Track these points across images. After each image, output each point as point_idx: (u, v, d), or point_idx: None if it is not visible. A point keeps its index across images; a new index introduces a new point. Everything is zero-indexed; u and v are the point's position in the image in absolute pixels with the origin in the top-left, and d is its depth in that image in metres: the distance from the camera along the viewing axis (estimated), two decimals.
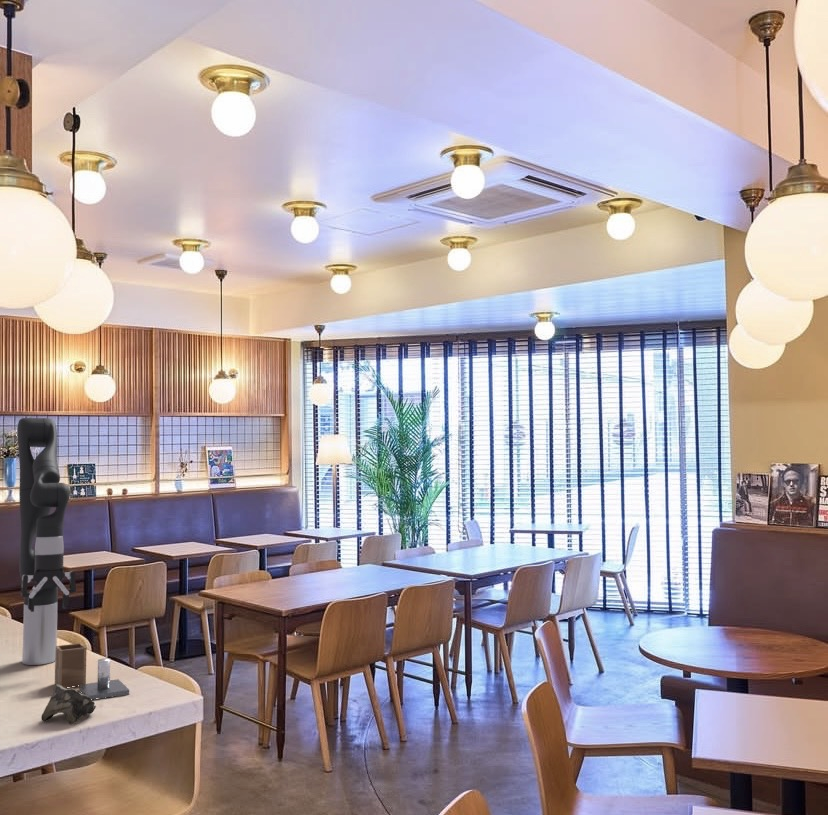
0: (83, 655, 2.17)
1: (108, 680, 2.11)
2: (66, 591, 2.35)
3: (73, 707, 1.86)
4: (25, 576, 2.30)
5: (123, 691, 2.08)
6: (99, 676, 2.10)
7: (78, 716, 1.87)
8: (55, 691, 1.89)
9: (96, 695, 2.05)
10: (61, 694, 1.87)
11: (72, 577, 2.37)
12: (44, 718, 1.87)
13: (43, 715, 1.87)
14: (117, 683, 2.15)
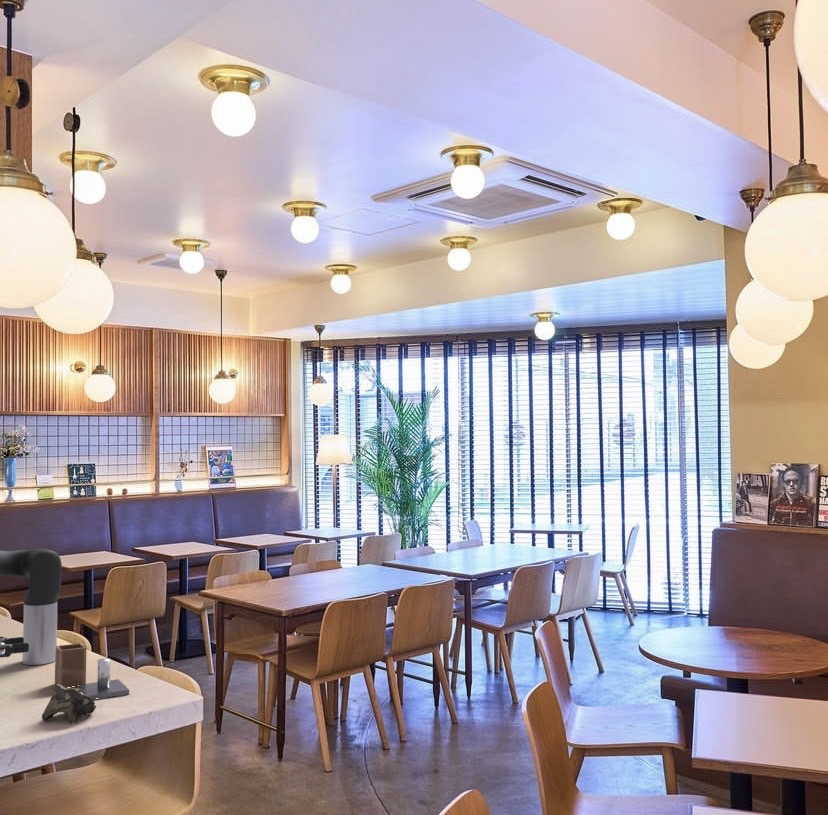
0: (83, 655, 2.17)
1: (108, 680, 2.11)
2: (3, 638, 2.14)
3: (73, 707, 1.87)
4: None
5: (123, 691, 2.08)
6: (99, 676, 2.10)
7: (78, 716, 1.87)
8: (55, 691, 1.89)
9: (96, 695, 2.05)
10: (62, 694, 1.88)
11: None
12: (44, 717, 1.87)
13: (43, 714, 1.87)
14: (117, 683, 2.15)
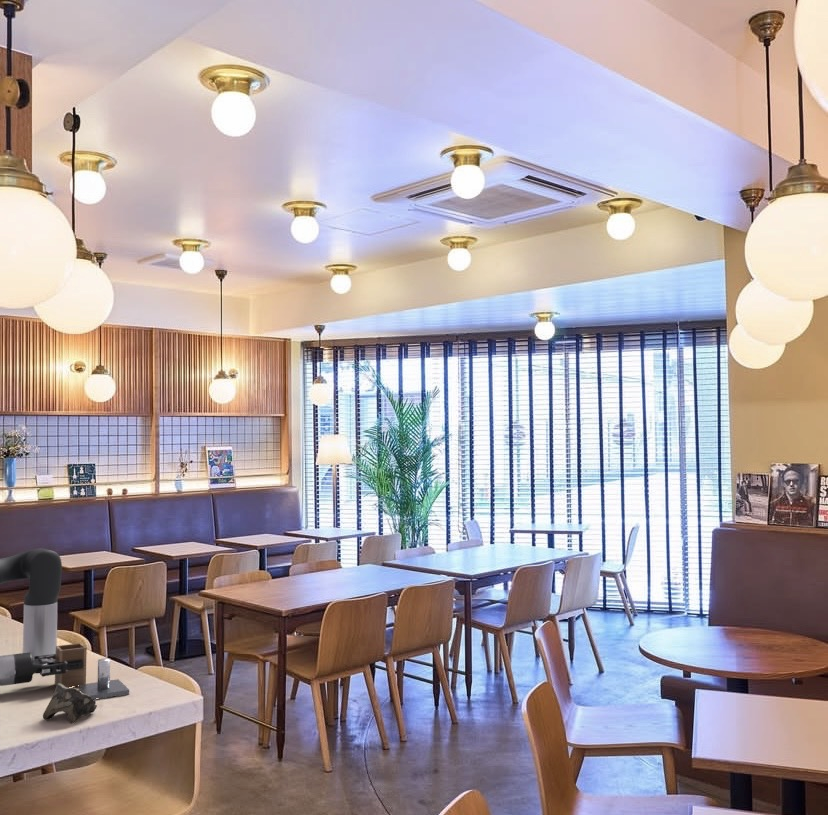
0: (83, 655, 2.17)
1: (108, 680, 2.11)
2: None
3: (73, 706, 1.87)
4: (43, 666, 2.09)
5: (123, 691, 2.08)
6: (99, 676, 2.10)
7: (79, 715, 1.87)
8: (56, 690, 1.90)
9: (96, 695, 2.05)
10: (62, 693, 1.88)
11: (41, 656, 2.20)
12: (45, 717, 1.88)
13: (44, 714, 1.88)
14: (117, 683, 2.15)
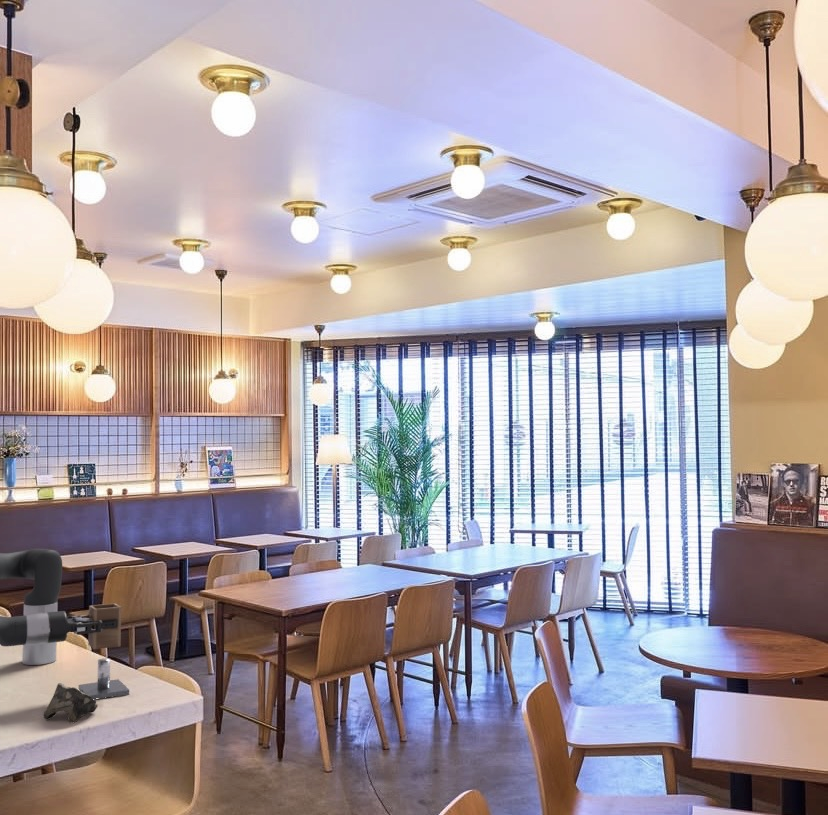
0: (118, 614, 2.11)
1: (108, 680, 2.11)
2: None
3: (73, 706, 1.87)
4: (78, 624, 2.03)
5: (123, 691, 2.08)
6: (99, 676, 2.10)
7: (79, 715, 1.88)
8: (57, 689, 1.90)
9: (96, 695, 2.05)
10: (63, 692, 1.89)
11: (74, 616, 2.14)
12: (46, 716, 1.88)
13: (45, 713, 1.88)
14: (117, 683, 2.15)
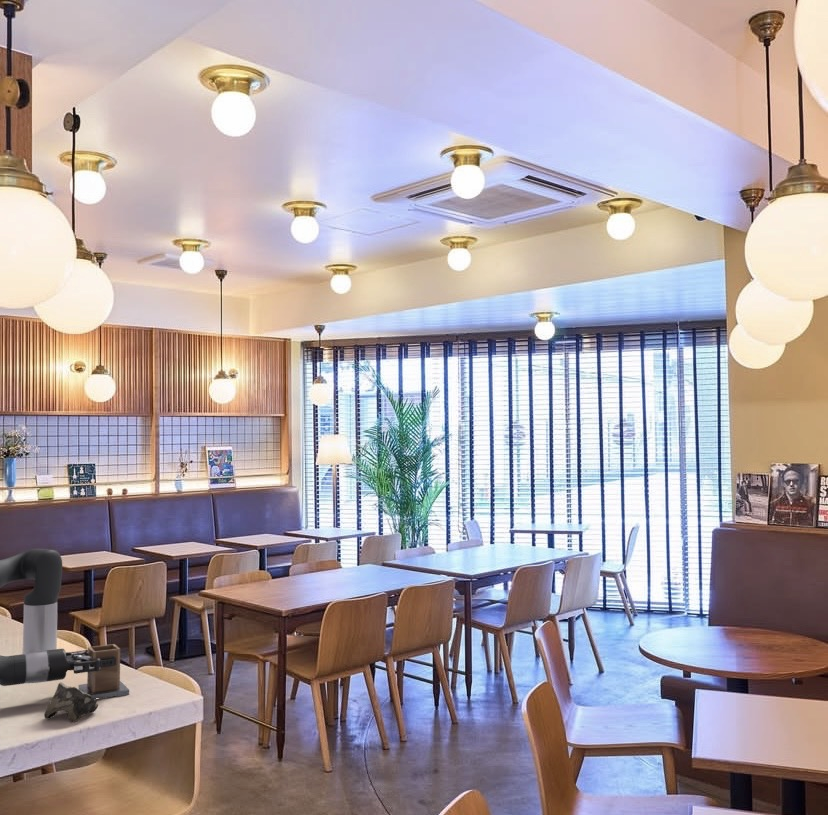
0: (117, 657, 2.11)
1: None
2: None
3: (74, 705, 1.88)
4: (75, 663, 2.02)
5: (123, 691, 2.08)
6: None
7: (79, 714, 1.88)
8: (58, 689, 1.91)
9: (96, 695, 2.05)
10: (63, 692, 1.89)
11: (71, 652, 2.14)
12: (47, 715, 1.89)
13: (46, 712, 1.89)
14: None
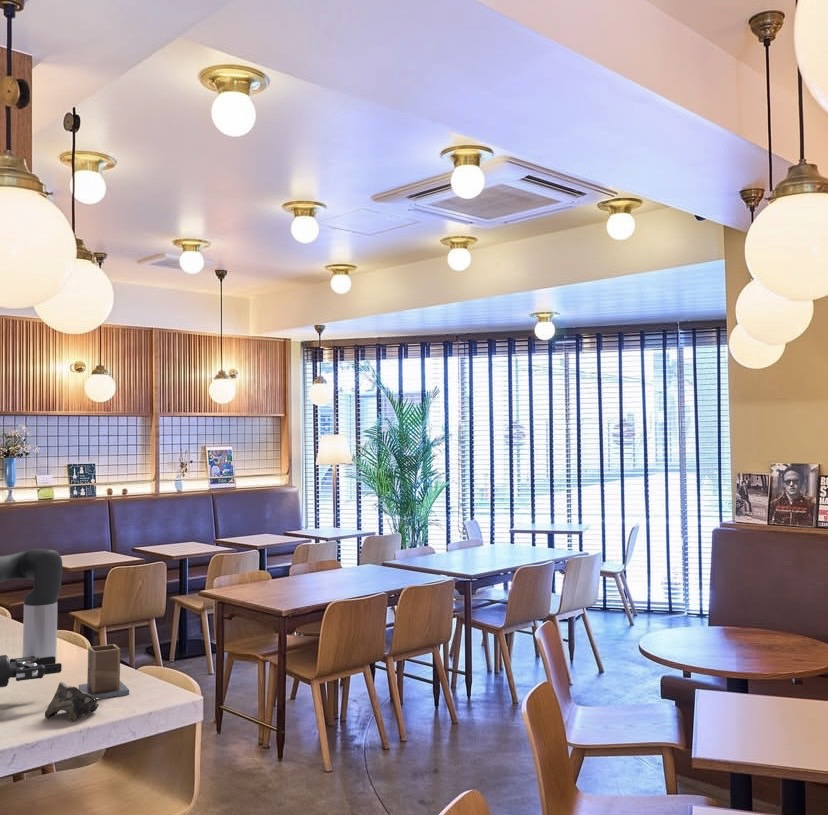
0: (117, 657, 2.11)
1: None
2: (34, 658, 2.07)
3: (74, 705, 1.88)
4: (17, 670, 1.95)
5: (123, 691, 2.08)
6: None
7: (79, 714, 1.88)
8: (58, 689, 1.91)
9: (96, 695, 2.05)
10: (64, 692, 1.89)
11: (16, 658, 2.07)
12: (47, 715, 1.89)
13: (46, 712, 1.89)
14: None
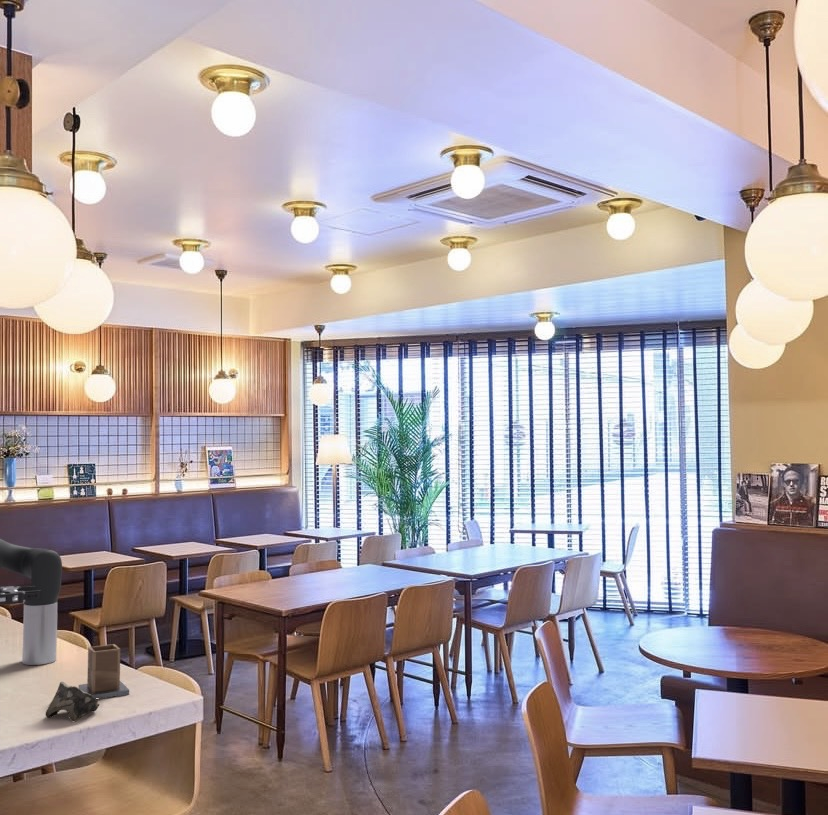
0: (117, 657, 2.11)
1: None
2: (15, 586, 2.11)
3: (74, 705, 1.88)
4: None
5: (123, 691, 2.08)
6: None
7: (80, 714, 1.88)
8: (59, 688, 1.91)
9: (96, 695, 2.05)
10: (64, 691, 1.90)
11: None
12: (48, 715, 1.89)
13: (47, 712, 1.90)
14: None
